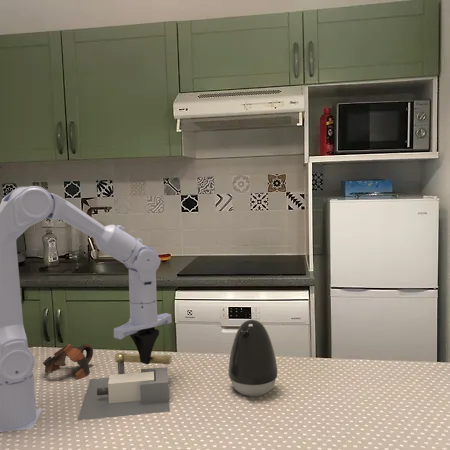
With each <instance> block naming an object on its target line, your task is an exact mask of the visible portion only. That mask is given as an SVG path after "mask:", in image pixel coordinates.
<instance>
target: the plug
mask: <svg viewBox="0 0 450 450" xmlns="http://www.w3.org/2000/svg"><path fill="white" fill-rule="evenodd" d="M108 378H109V382H108V387H106V388H97V396H98V395H109V403H119V402H130V401H141V391H140V382H149V381H154V371H152V372H141V371H140V372H130V373H128V372H127V373H125V374H118V373H116V374H109V377H108Z"/></svg>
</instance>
